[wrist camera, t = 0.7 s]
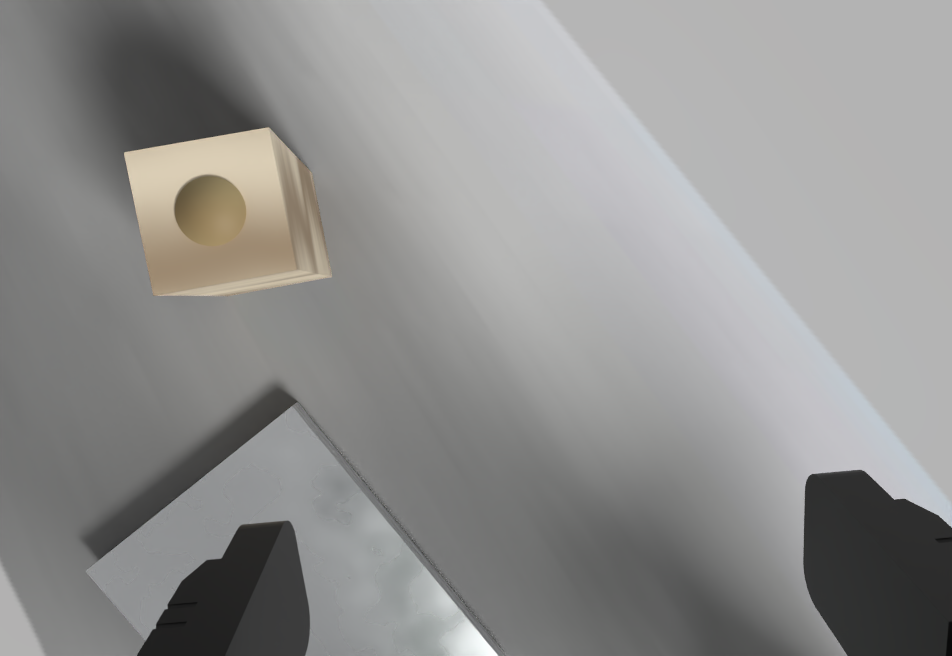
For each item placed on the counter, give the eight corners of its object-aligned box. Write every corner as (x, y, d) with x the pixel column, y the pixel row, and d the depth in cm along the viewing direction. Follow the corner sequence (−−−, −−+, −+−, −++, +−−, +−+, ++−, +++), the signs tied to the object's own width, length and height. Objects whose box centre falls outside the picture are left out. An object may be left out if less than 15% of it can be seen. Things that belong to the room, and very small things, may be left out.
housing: (206, 191, 37) (122, 151, 27) (311, 172, 37) (268, 126, 27) (227, 296, 37) (152, 295, 27) (332, 276, 37) (296, 269, 27)
